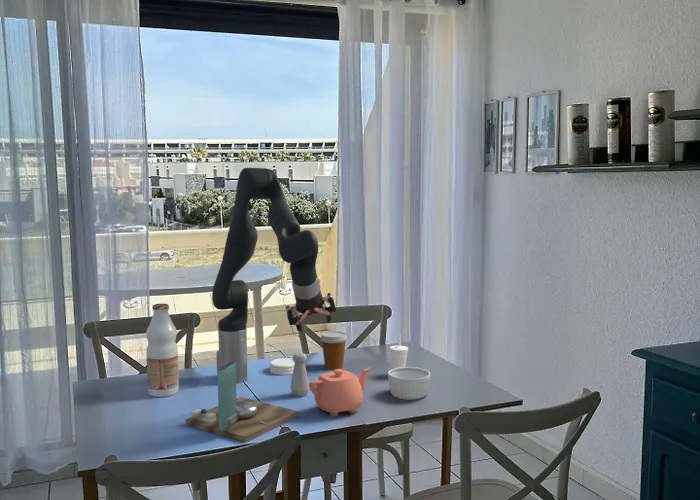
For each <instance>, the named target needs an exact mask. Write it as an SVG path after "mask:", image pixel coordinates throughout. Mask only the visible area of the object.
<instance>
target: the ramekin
mask: <svg viewBox="0 0 700 500" xmlns="http://www.w3.org/2000/svg"><path fill="white" fill-rule="evenodd" d="M387 378H388V385H389V391H390V394H391V395H392V396H393V397H395V398H396V399H400V400H406V401H407V400H408V401H415V400H419V399H423V398H424V397H426V396H427V395H428V392H429V387H430V379H431V372H430V371H429V370H427V369H425V368H421V367H415V366H414V367H413V366H405V367H400V368H395V369H390V370H389V371H388V372H387Z"/></svg>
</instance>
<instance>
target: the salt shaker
mask: <svg viewBox="0 0 700 500" xmlns="http://www.w3.org/2000/svg"><path fill="white" fill-rule="evenodd" d="M292 359H293V361H294V362H295V364H294V370H293V374H292V376H291V383H290V391H291V392H292V395H293V396H295V397H297V398H298V397H299V398H301V397H305V396H307V394H308V392H309V390H310V388H309V383H310V382H309V378H308V374H307V368H306V367H307V366H306V362H307V360H308V356H307V354H306V353H304V352H296V353H294V354H293V355H292Z"/></svg>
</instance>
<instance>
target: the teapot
mask: <svg viewBox="0 0 700 500" xmlns="http://www.w3.org/2000/svg"><path fill="white" fill-rule="evenodd" d="M370 370H372V367H367V368H364V369H363V370H362V371H361V373H360V376H359V377H358V376H357V375H356V374H354V373H352V372H350V371H348V370H344V369H343V368H341V369H335V370H333V371H329V372H324V373H321V374H319V375H318V378H317V380H312V381H310V382H309V390H310V391H311V393H312V394H313V396H314V401H315V404H316V406H318V407H319V408H320V410H321V409H322V410H321V411H325V412H327V413H330V414H329V416H330V415H331V416H330V417H332V416H336V417H338V416H339V413H341V412H348V413H349V414H355V413H357V410H356V409H359V408H361V406H362V404H363V402H364V394H363V391H364V390H365V387H366V380H367V379H366V377H367V373H368V372H369V371H370Z"/></svg>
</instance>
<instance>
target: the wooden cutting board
mask: <svg viewBox="0 0 700 500" xmlns="http://www.w3.org/2000/svg"><path fill="white" fill-rule="evenodd" d="M241 401H249V402H254V403H256V404H257V414H256V415H255V416H252V417H249V418H239V419H238V420H236V421H235V422H234V423H233V424H231V425H230V426H228V427H227V428H226V429H225V430H223V431H222V430H219V412H218V405H217V406H215V407H212V408H209V409H208V410H207V409H206V408H202V409H200V408H196V409H194V410H191V412H190V413H191V416H190V417H187V418H185V423H184V424H185V426H187V427H192V428H195V429H199V430H202V431H207V432H210V433H211V434H216V435H219V436H222V437H223V436H224V437H226V438H229V439H233V440H237V441H240V442H243V443H247V442H250V441H251V439H252V440H253V438H254V439H256V438H258V437H259V436H261V435H264V434H266V433H268V432H269V431H271V430H273V429H275V428H278V427H279V426H282V425H284V424H286V423H288V422H290V421H292V420H294V419H297V417H298V418H299V416H300V415H299V414H300V413H299V410H295V409H291V408H288V407H284V406H281V405H275V404H270V403H267V402H262V401H260V400H259V401H258V400H255V399H250V398H247V397H243V396H240V397H238V398H237V397H236V402H241ZM255 437H256V438H255Z"/></svg>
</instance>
